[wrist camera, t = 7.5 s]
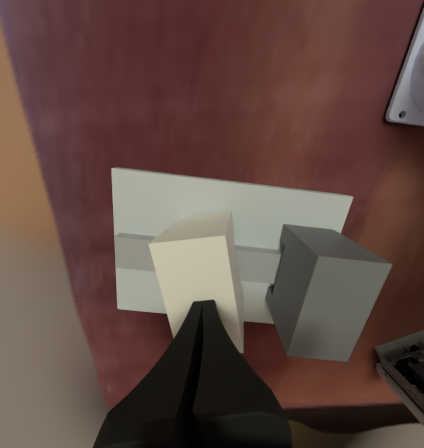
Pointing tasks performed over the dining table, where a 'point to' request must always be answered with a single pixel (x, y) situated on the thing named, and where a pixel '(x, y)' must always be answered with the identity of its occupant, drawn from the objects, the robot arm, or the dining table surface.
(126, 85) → the dining table surface
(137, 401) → the robot arm
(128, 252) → the rail plate
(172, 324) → the block
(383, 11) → the dining table surface
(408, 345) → the electrical switch
